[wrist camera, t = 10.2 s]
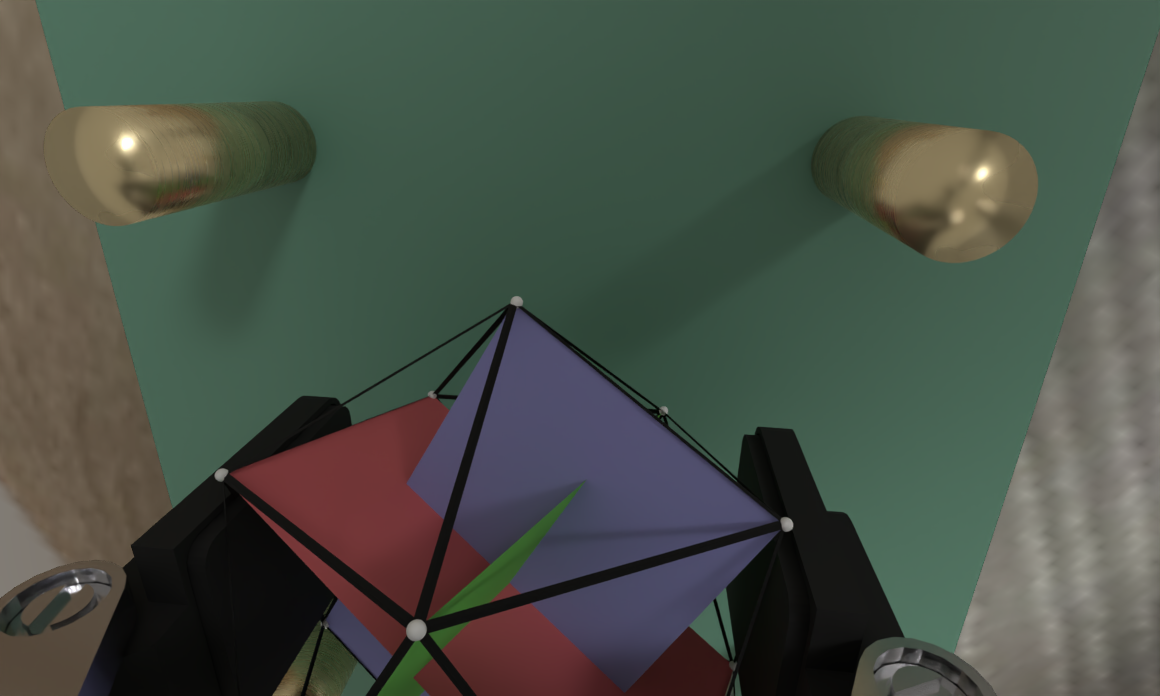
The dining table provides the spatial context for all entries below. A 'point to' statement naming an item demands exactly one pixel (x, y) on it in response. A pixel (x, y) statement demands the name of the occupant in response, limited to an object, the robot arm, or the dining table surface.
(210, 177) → the brass standoffs
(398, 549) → the geometric puzzle
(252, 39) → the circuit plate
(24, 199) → the dining table surface
